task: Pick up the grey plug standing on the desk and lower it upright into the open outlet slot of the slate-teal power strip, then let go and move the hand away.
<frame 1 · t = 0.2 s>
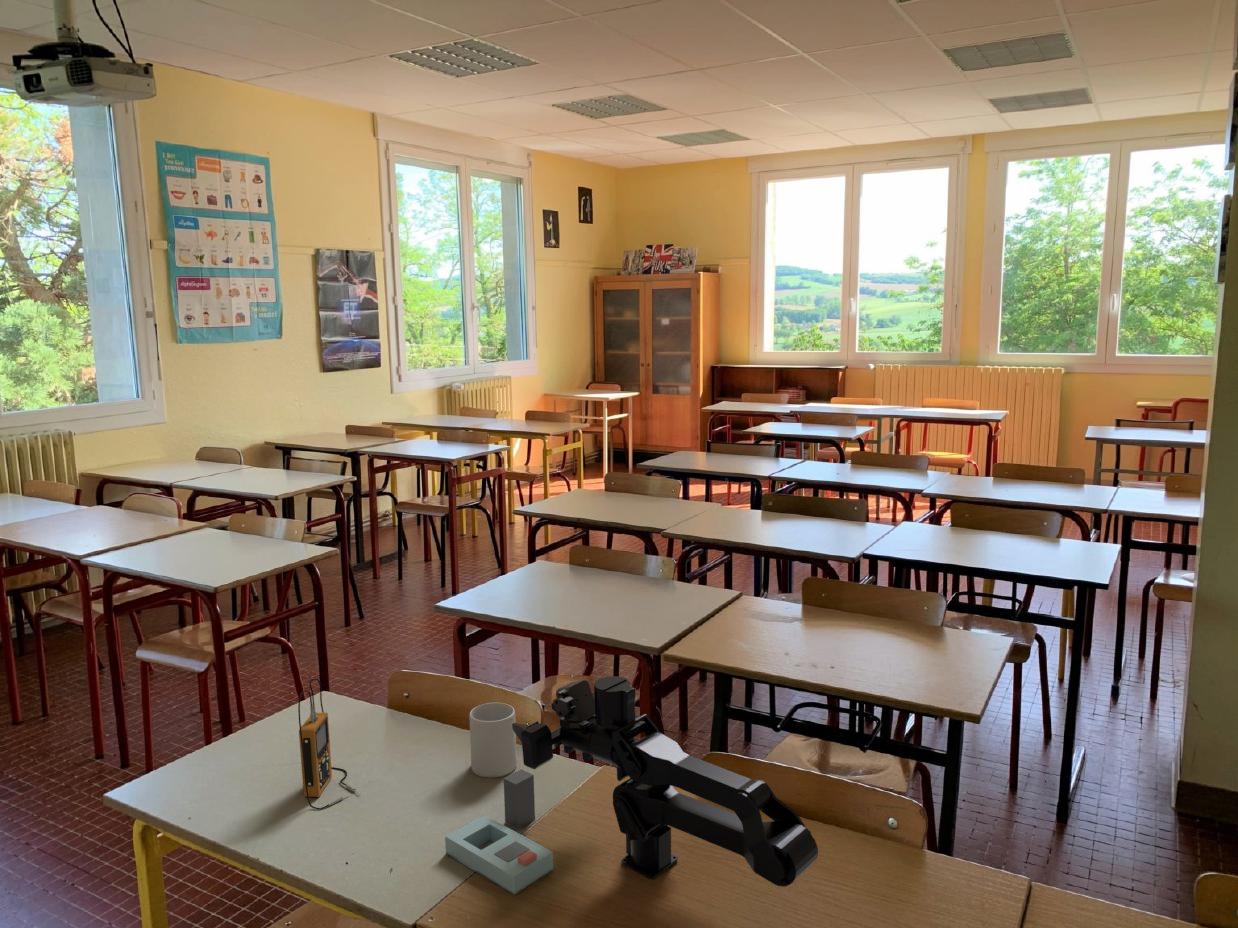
hand: (533, 715, 154), 17 cm above the table, tool horizontal, fingers open, 9 cm apart
mug: (498, 763, 173), on the table
multimeter: (338, 789, 164), on the table
power strip: (498, 861, 141), on the table
plug: (520, 820, 153), on the table
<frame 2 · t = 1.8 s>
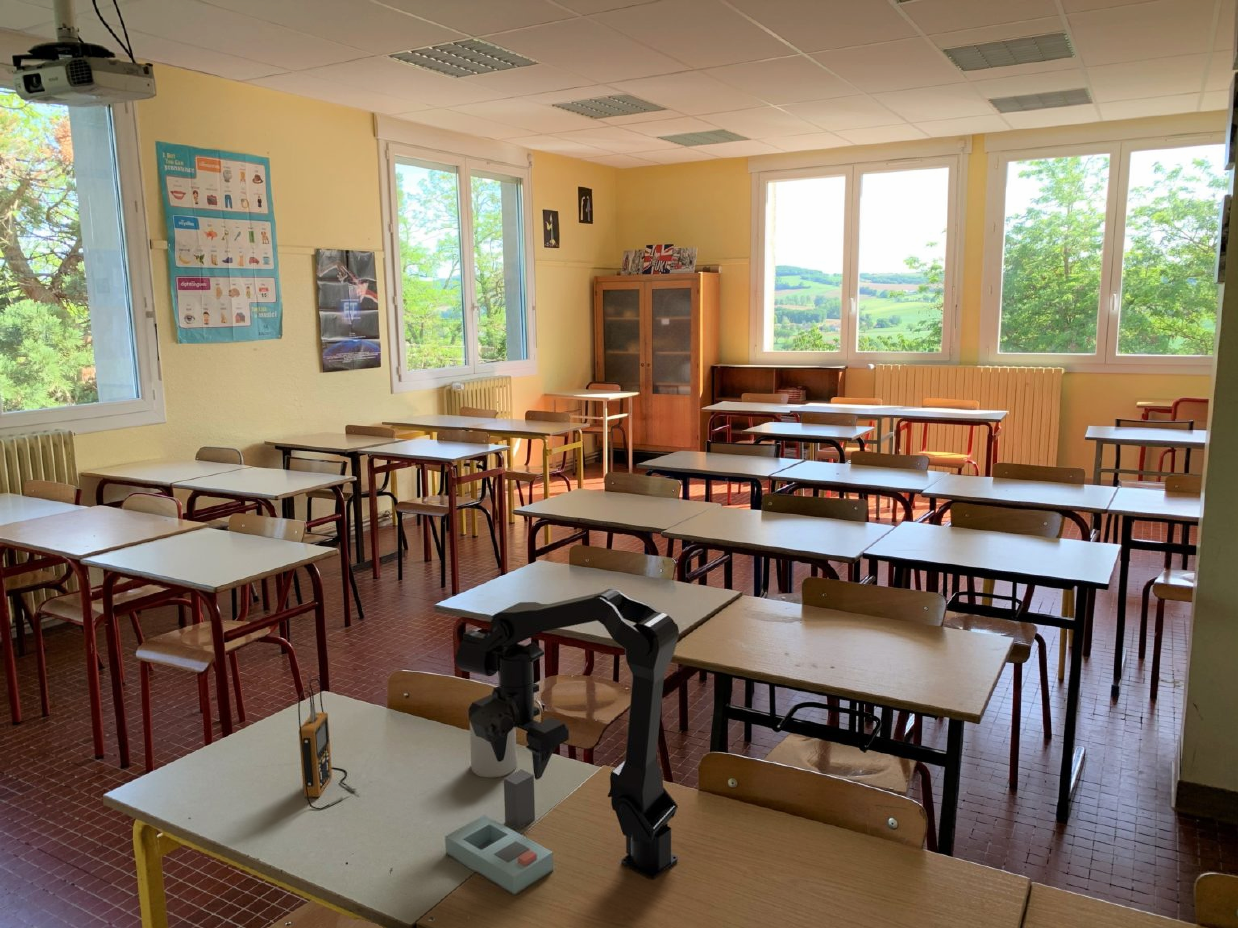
hand: (519, 769, 151), 9 cm above the table, tool pointing down, fingers open, 9 cm apart
nothing on the table moved.
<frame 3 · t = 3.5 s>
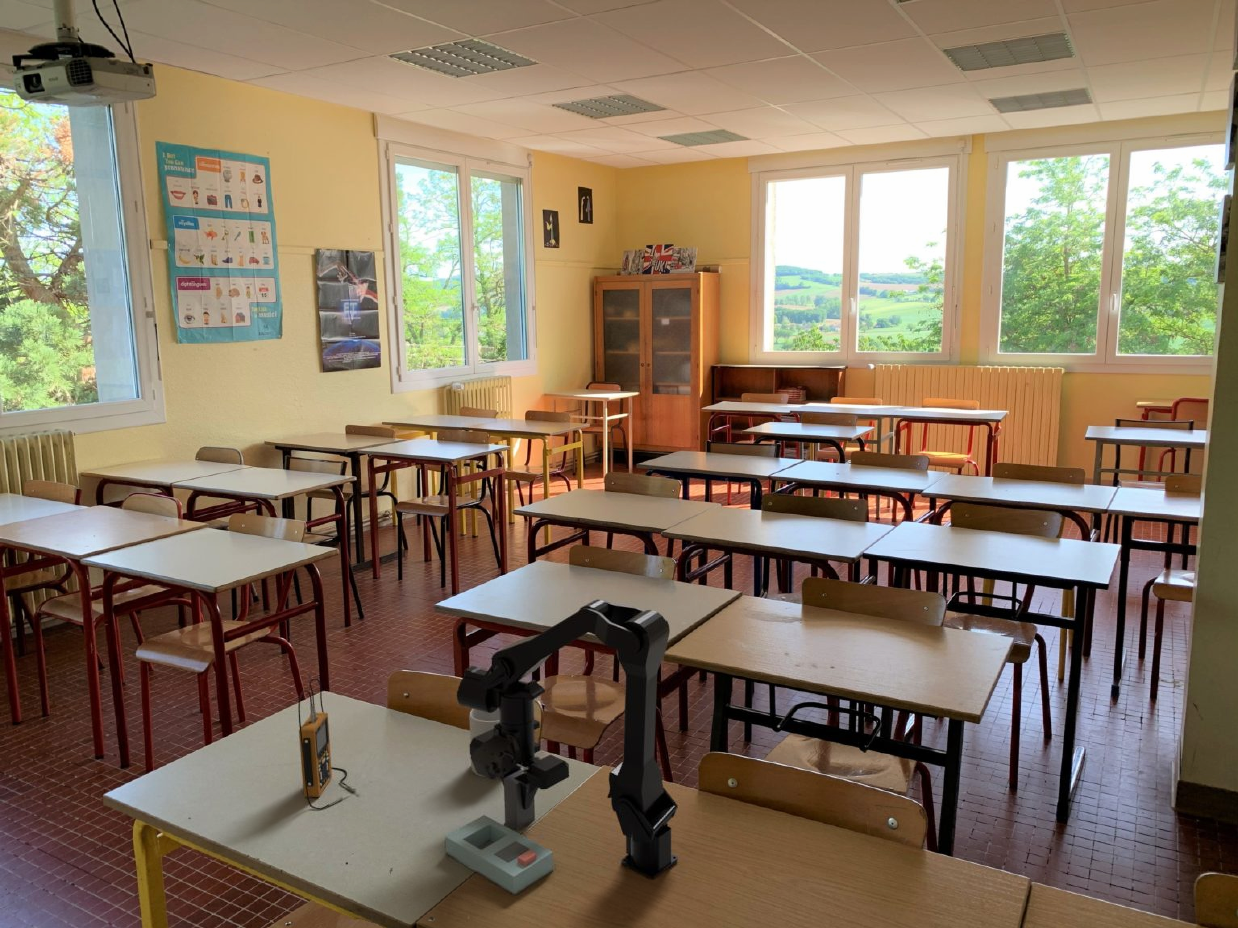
hand: (519, 804, 152), 3 cm above the table, tool pointing down, fingers closed on plug, 3 cm apart
plug: (520, 820, 153), on the table, touching gripper
everything else where it was.
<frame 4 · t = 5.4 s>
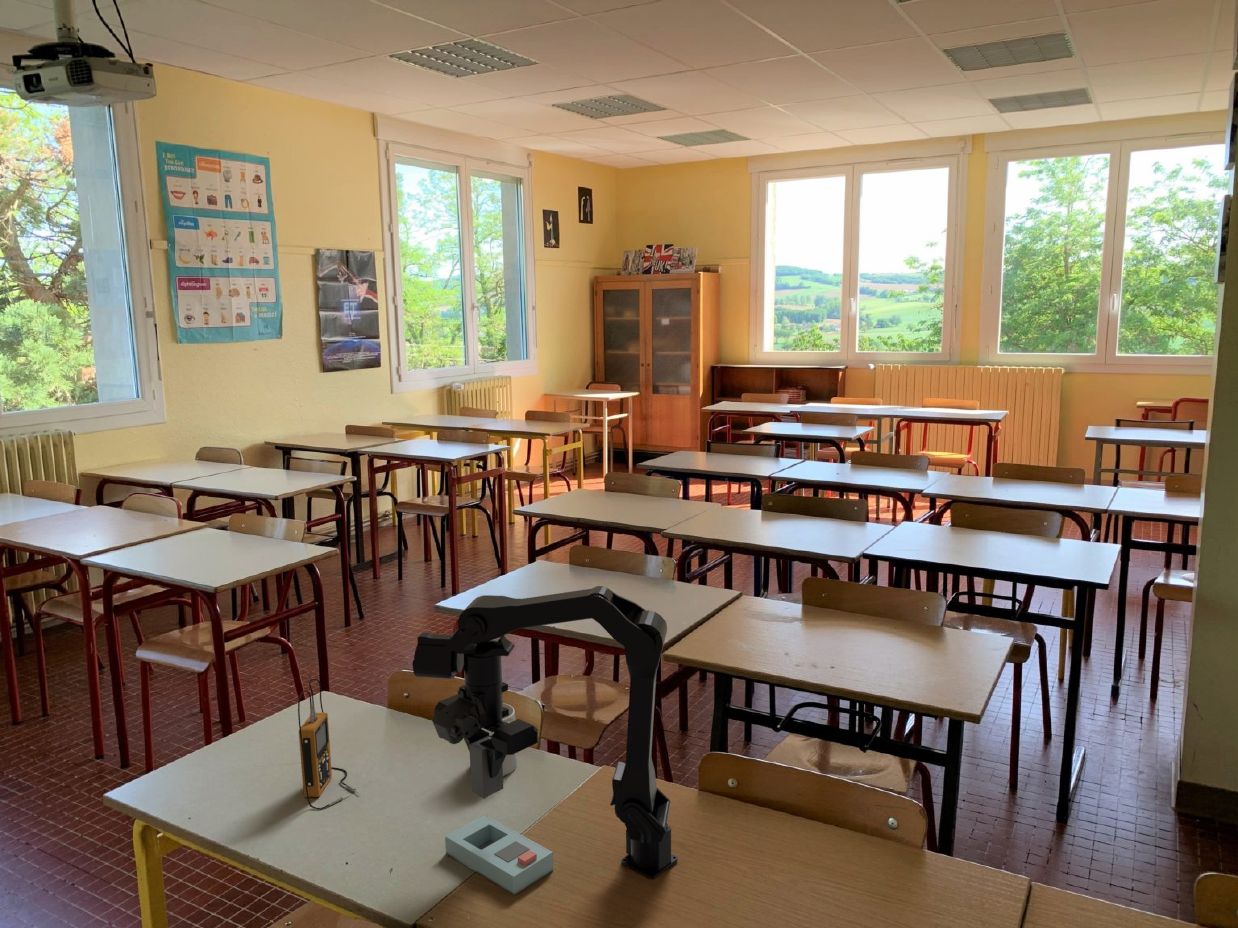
hand: (486, 773, 142), 13 cm above the table, tool pointing down, fingers closed on plug, 3 cm apart
plug: (487, 790, 143), point 10 cm above the table, touching gripper
everything else where it was.
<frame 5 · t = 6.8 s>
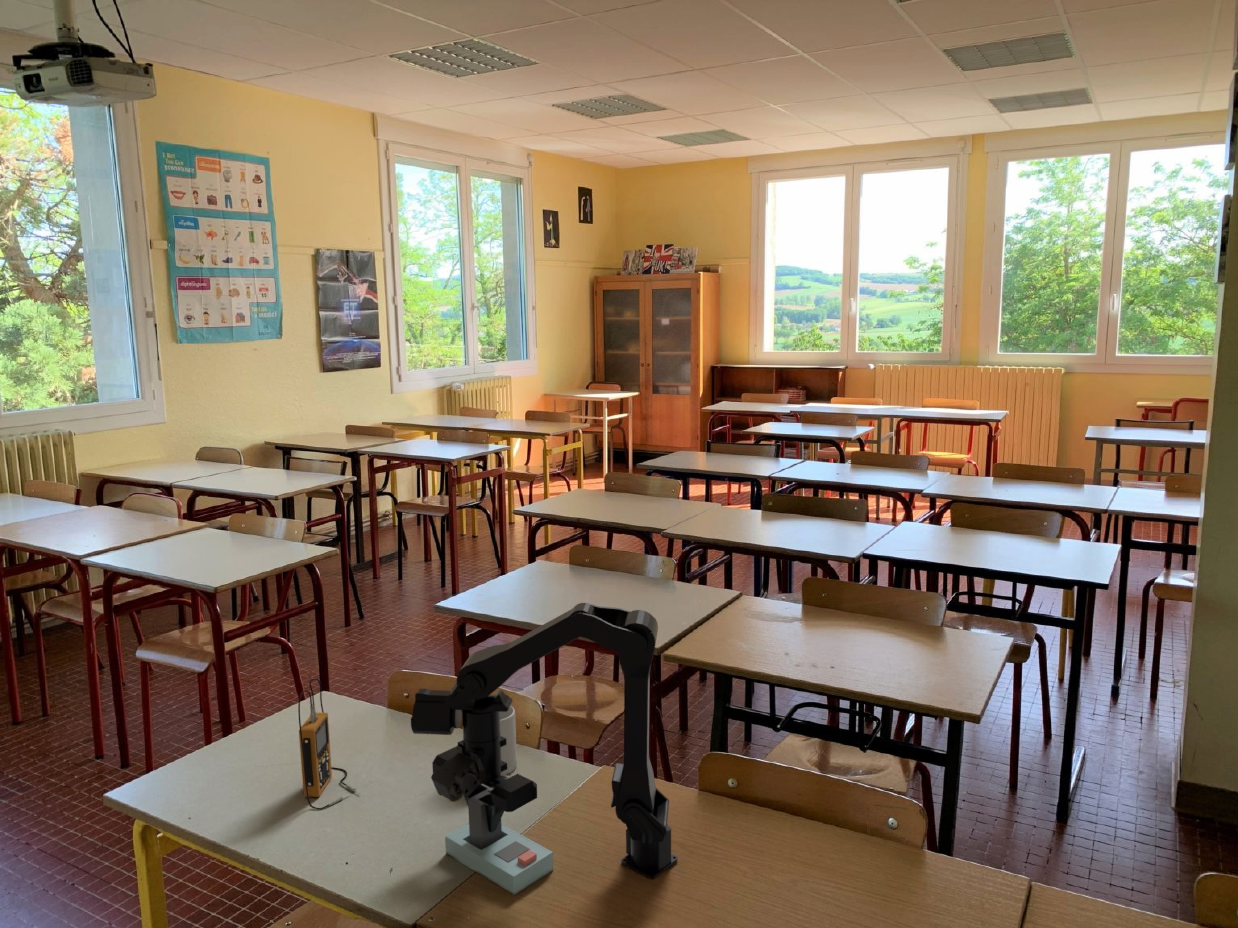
hand: (485, 827, 143), 5 cm above the table, tool pointing down, fingers closed on plug, 3 cm apart
plug: (486, 843, 143), point 2 cm above the table, touching gripper
everything else where it was.
when the fingers open (4 cm above the table, at t = 7.6 s): plug stays where it is, resting on power strip.
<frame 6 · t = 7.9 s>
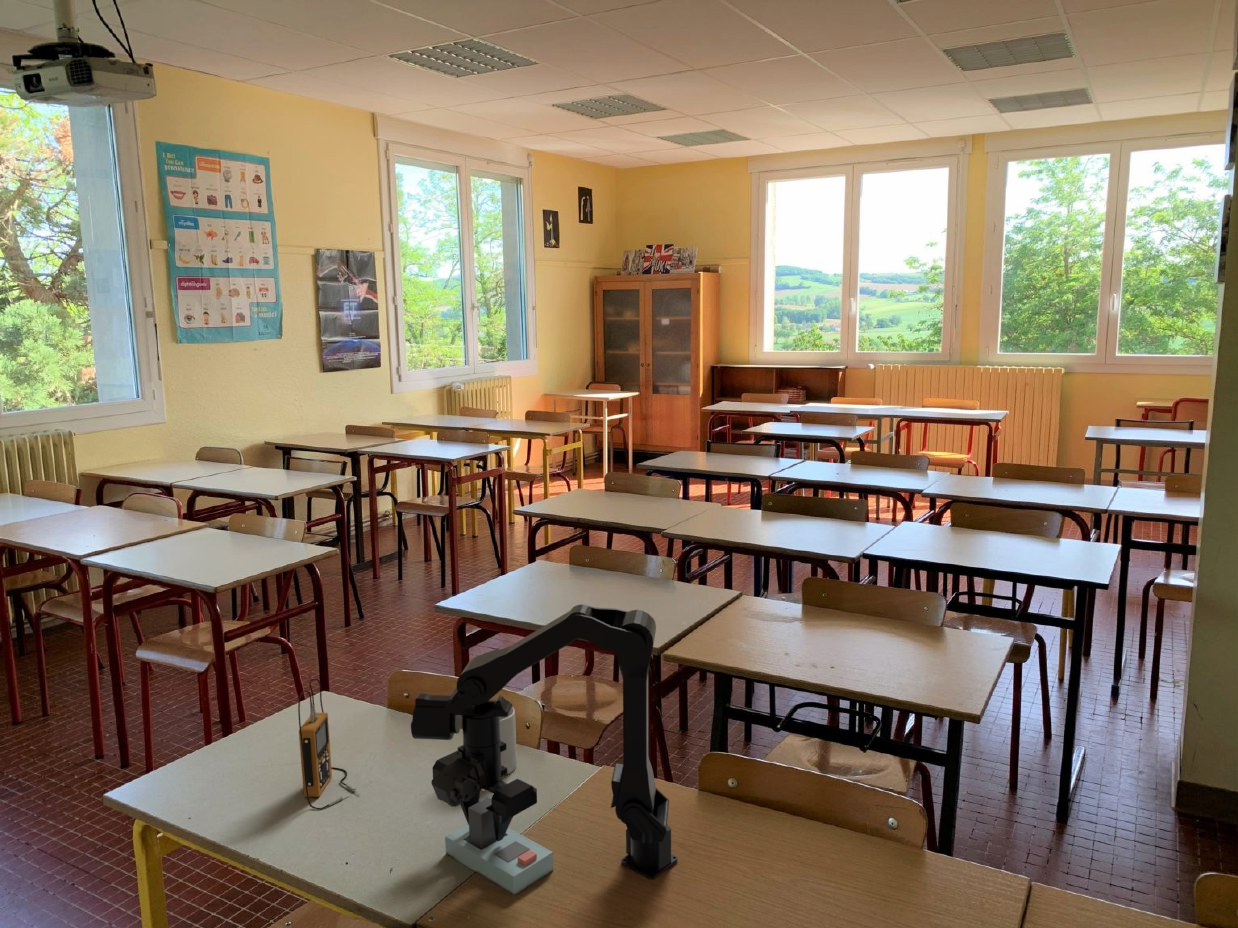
hand: (485, 832, 143), 4 cm above the table, tool pointing down, fingers open, 6 cm apart
plug: (486, 852, 143), resting on power strip
everything else where it was.
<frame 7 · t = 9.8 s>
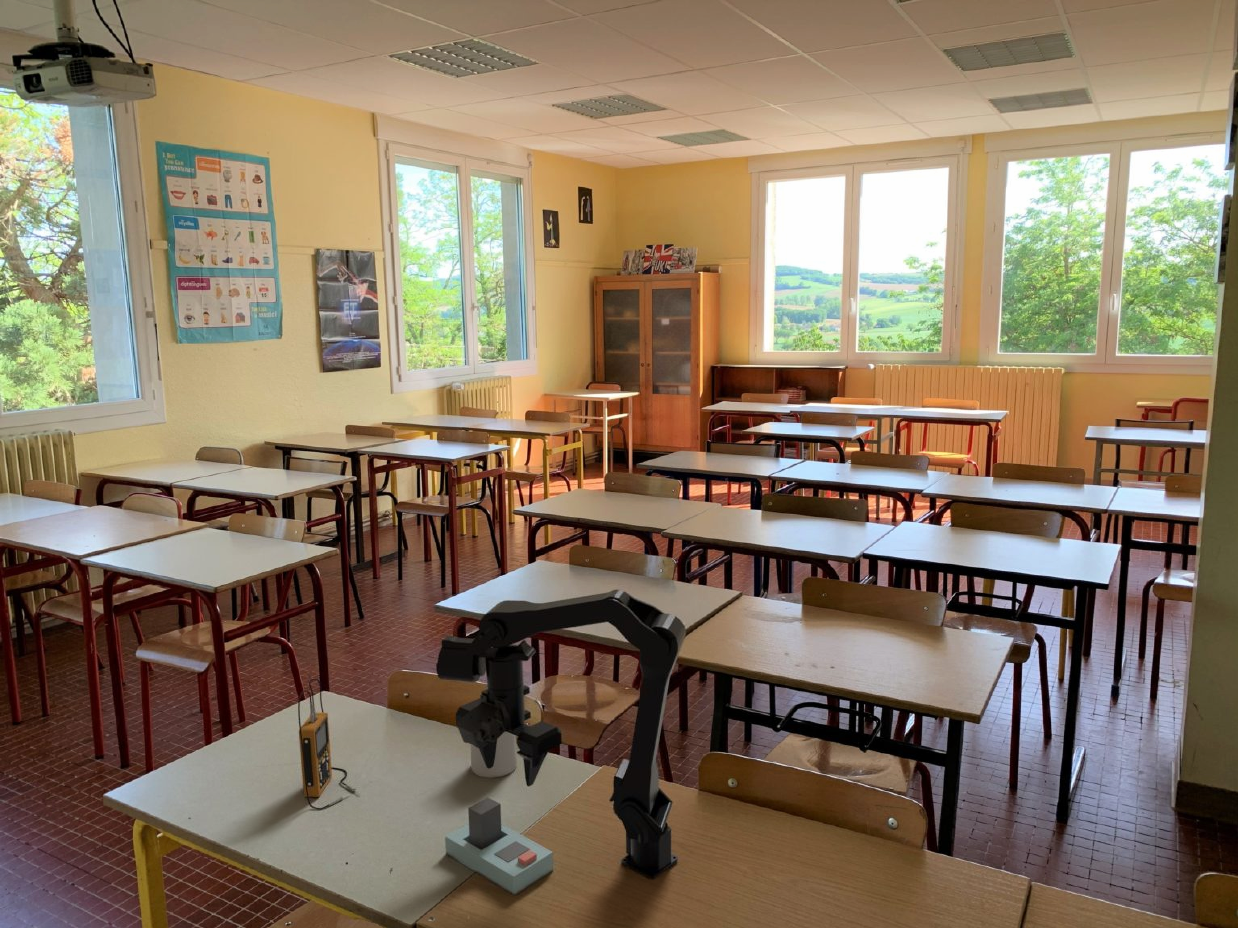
hand: (509, 776, 144), 12 cm above the table, tool pointing down, fingers open, 9 cm apart
nothing on the table moved.
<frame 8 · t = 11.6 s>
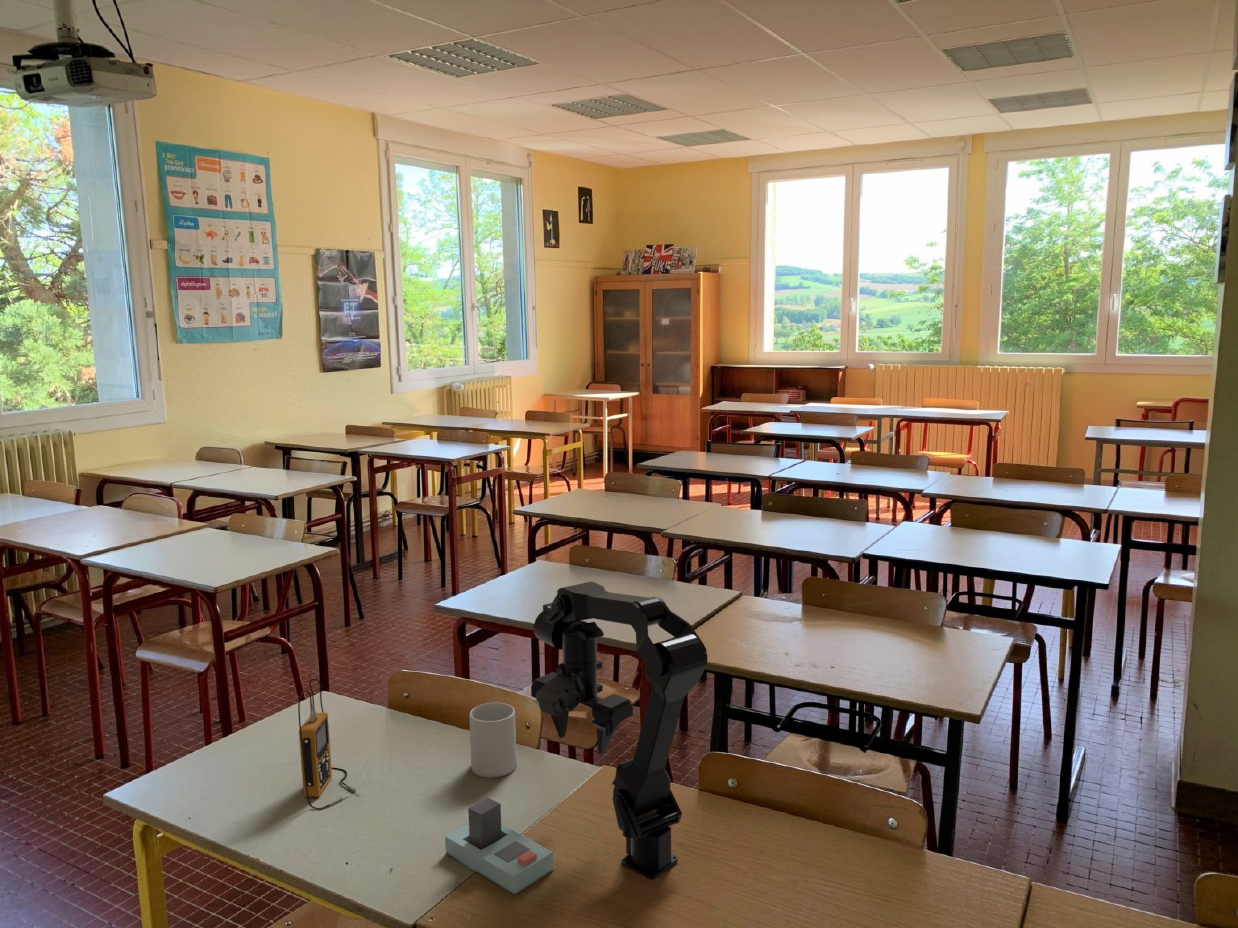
hand: (581, 745, 154), 12 cm above the table, tool pointing down, fingers open, 9 cm apart
nothing on the table moved.
at the end: plug 0.0 cm from the target spot on the power strip, point 0.3 cm above the power strip's base; plug tilted 0°; the gripper is holding nothing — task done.
